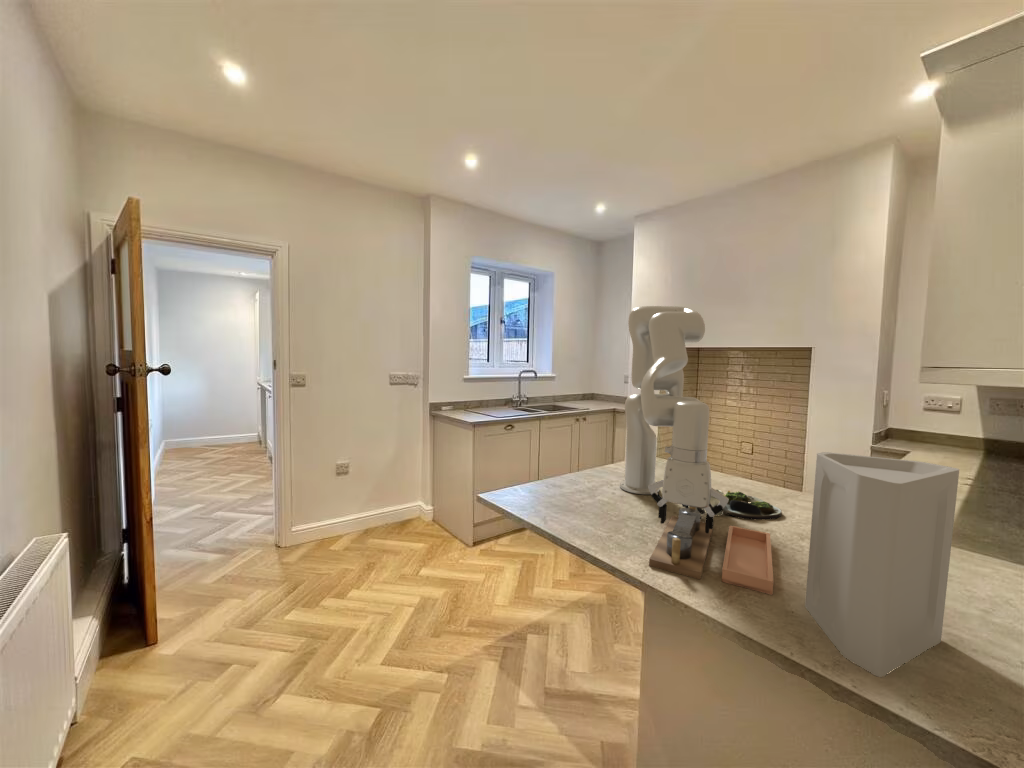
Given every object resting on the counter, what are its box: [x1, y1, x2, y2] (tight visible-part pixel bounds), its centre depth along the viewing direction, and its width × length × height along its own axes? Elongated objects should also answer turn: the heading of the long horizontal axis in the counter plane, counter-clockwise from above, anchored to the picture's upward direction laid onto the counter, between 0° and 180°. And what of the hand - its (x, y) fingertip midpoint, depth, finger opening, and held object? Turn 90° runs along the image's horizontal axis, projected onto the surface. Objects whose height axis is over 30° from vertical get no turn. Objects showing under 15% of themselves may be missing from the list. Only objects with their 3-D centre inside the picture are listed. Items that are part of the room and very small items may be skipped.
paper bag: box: [804, 451, 960, 678], centre depth 68 cm, size 19×15×28 cm
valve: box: [682, 488, 724, 520], centre depth 116 cm, size 7×7×12 cm
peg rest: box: [648, 506, 714, 580], centre depth 97 cm, size 28×10×6 cm, turn 150°
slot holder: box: [721, 525, 775, 596], centre depth 91 cm, size 25×9×3 cm, turn 150°
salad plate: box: [722, 490, 783, 521], centre depth 123 cm, size 19×18×5 cm
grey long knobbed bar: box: [666, 507, 702, 559], centre depth 97 cm, size 21×5×4 cm, turn 150°
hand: (684, 526), depth 97 cm, fingers open, 9 cm apart
